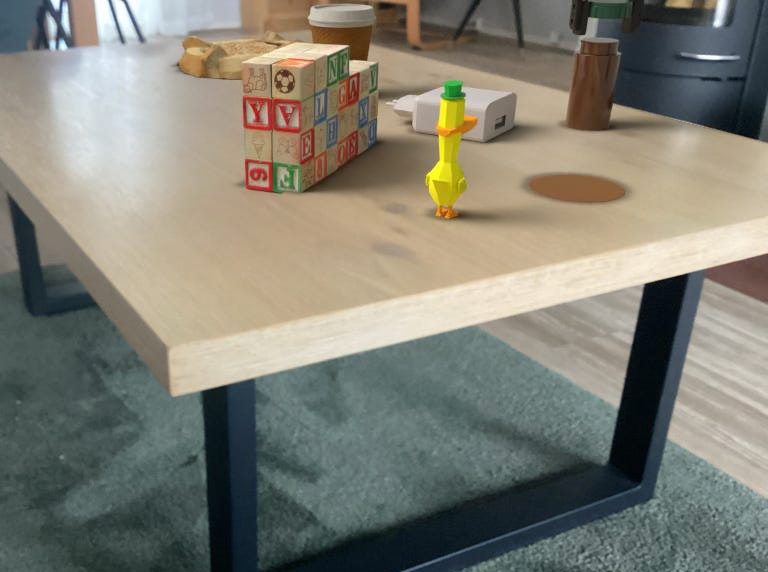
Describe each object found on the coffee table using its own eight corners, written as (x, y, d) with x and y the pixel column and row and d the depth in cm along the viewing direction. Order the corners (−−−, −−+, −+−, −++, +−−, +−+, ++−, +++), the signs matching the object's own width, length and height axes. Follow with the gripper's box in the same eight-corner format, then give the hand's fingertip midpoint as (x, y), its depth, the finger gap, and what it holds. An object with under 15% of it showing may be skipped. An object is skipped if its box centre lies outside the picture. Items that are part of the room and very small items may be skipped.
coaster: (626, 183, 87) (627, 179, 86) (621, 210, 79) (622, 206, 79) (534, 174, 90) (535, 170, 89) (521, 200, 82) (522, 196, 82)
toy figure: (448, 204, 81) (459, 72, 75) (482, 211, 79) (496, 76, 74) (411, 223, 77) (420, 84, 71) (447, 232, 75) (459, 89, 69)
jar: (609, 125, 108) (624, 37, 103) (607, 135, 104) (623, 44, 99) (566, 122, 110) (578, 35, 105) (563, 131, 105) (575, 42, 100)
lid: (572, 12, 103) (574, -3, 102) (616, 11, 103) (619, -4, 102) (593, 19, 98) (596, 3, 97) (640, 18, 98) (643, 2, 98)
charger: (405, 115, 114) (513, 130, 106) (370, 128, 107) (482, 146, 100) (408, 78, 112) (518, 90, 104) (371, 89, 105) (486, 104, 97)
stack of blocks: (327, 139, 103) (329, 29, 97) (377, 144, 101) (382, 32, 95) (244, 188, 86) (240, 59, 80) (301, 196, 84) (301, 64, 78)
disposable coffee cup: (300, 101, 122) (300, 10, 116) (315, 88, 130) (315, 2, 124) (367, 104, 120) (371, 12, 114) (377, 91, 128) (381, 4, 122)
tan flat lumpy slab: (323, 56, 156) (323, 26, 153) (305, 81, 135) (305, 47, 133) (195, 53, 159) (193, 24, 157) (158, 77, 138) (156, 45, 136)
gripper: (671, -131, 98) (643, 28, 106) (551, -131, 96) (532, 31, 104) (709, -134, 91) (677, 36, 99) (581, -133, 89) (558, 40, 97)
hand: (603, 33), depth 101 cm, fingers closed on lid, 5 cm apart
